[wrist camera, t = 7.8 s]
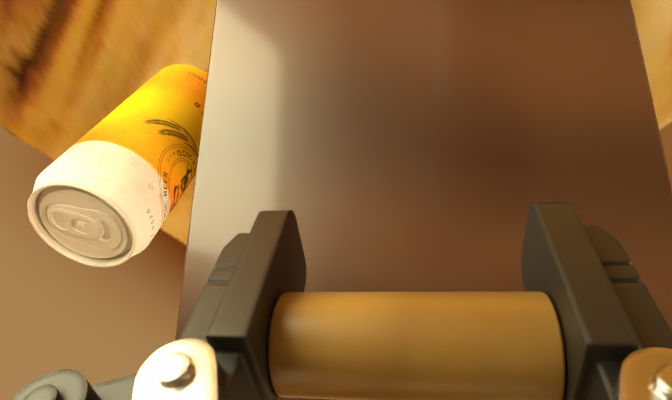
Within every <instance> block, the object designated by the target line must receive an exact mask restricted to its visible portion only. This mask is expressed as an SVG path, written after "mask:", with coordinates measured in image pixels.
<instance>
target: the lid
mask: <svg viewBox="0 0 672 400" xmlns="http://www.w3.org/2000/svg"><path fill="white" fill-rule="evenodd" d="M537 202H570V203H571V204H572V205H573V207H574V209H575V211H576V213H577V215H578V217H579V219H580V221H581V223H582V225H583V226H587V225H599V226H601V227H602V228H603V229H604V230H606V231H607V232H608V233H609V234H611V235H612V236H613V237H615V238H616V239H617V240H618V241H620V243H621V244H622V246H623V248H624V249H625V251H626V253H627V255H628V256H629V258H630V260H631V262H632V263H631V264H632V266H634V267H635V268H636V270H637V272H638V274H639V275H640V277H641V282H642V283H644V284H645V286H646V287H647V289H648V291H649V293H650V294H651V296H652V298H653V300H654V301H655V303H656V305H657V306H658V308H659V310H660V312H661V313H662V315H663V317H664V319H665V320H666V322H667V324H668V325H669V327H670V329H671V331H672V187H671V183H670V178H669V174H668V169H667V164H666V160H665V156H664V151H663V146H662V141H661V137H660V132H659V128H658V123H657V119H656V114H655V109H654V105H653V100H652V96H651V91H650V86H649V82H648V77H647V73H646V68H645V64H644V59H643V54H642V50H641V45H640V41H639V36H638V31H637V27H636V22H635V18H634V13H633V9H632V4H631V0H217V4H216V12H215V20H214V28H213V36H212V45H211V53H210V61H209V69H208V77H207V85H206V94H205V102H204V110H203V118H202V126H201V134H200V143H199V151H198V159H197V167H196V175H195V183H194V192H193V200H192V208H191V216H190V224H189V232H188V241H187V249H186V257H185V265H184V273H183V282H182V290H181V299H180V306H179V314H178V322H177V330H176V339H175V341H177V340H178V339H179V338H180V336H181V334H182V332H183V330H184V328H185V325H186V323H187V321H188V319H189V317H190V315H191V313H192V311H193V309H194V307H195V305H196V303H197V301H198V299H199V297H200V295H201V292H202V290H203V288H204V286H205V284H207V283H208V278H209V276H210V274H211V272H212V270H213V269H215V264H216V262H217V260H218V257H219V255H220V253H221V251H222V249H223V248H224V247H225V246H226V245H227V244H228V243H229V242H230V241H231V240H232V239H233V238H234V237H235V236H236V235H237V234H238V233H250V231H251V229H252V226H253V224H254V222H255V219H256V217H257V215H258V213H259V212H260V211H275V210H293V212H294V213H295V216H296V220H297V224H298V229H299V233H300V238H301V242H302V247H303V251H304V255H305V260H306V284H305V289H304V292H285V293H283V294H282V295H281V296H280V297H279V298H278V300H277V302H276V304H275V307H274V310H273V314H272V318H271V322H270V328H269V337H268V368H269V376H270V381H271V385H272V388H273V390H274V392H275V393H276V394H277V395H278V400H563V398H564V394H565V387H566V358H565V348H564V341H563V335H562V330H561V326H560V322H559V318H558V315H557V312H556V310H555V307H554V305H553V303H552V301H551V299H550V297H549V296H548V295H547V294H546V293H544V292H541V291H525V289H524V286H523V281H522V273H521V256H522V248H523V241H524V233H525V226H526V218H527V211H528V207H529V204H530V203H537Z"/></svg>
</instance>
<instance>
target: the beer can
mask: <svg viewBox="0 0 672 400" xmlns="http://www.w3.org/2000/svg"><path fill="white" fill-rule="evenodd" d="M207 77H208V73H207V72H205V71H203V70H202V69H199V68H197V67H194V66H191V65H186V64H175V65H170V66H167V67H165V68H163V69H162V70H160V71H159V72H158V73H157V74H155V75H154V76H153V77H152V78H151V79H150V80H148V81H147V82H146V83H145V84H144V85H143V86H141V87H140V88H139V89H138V90H137V91H136V92H134V93H133V94H132V95H131V96H130V97H129V98H127V99H126V100H125V101H124V102H123V103H122V104H120V105H119V106H118V107H117V108H116V109H115V110H113V111H112V112H111V113H110V114H109V115H108V116H107V117H105V118H104V119H103V120H102V121H101V122H100V123H98V124H97V125H96V126H95V127H94V128H93V129H91V130H90V131H89V132H88V133H87V134H86V135H84V136H83V137H82V138H81V139H80V140H79V141H77V142H76V143H75V144H74V145H73V146H72V147H70V148H69V149H68V150H67V151H66V152H65V153H63V154H62V155H61V156H60V157H59V158H58V159H56V160H55V161H54V162H53V163H52V164H51V165H49V166H48V167H47V168H46V169H45V170H44V171H43V172H42V173H41V174H40V175H39V176H38V177H37V179H36V181H35V185H34V189H33V193H32V194H31V196H30V197H29V200H28V203H27V212H28V217H29V220H30V222H31V224H32V226H33V228H34V229H35V231H36V232H37V233H38V235H39V236H40V237H41V238H42V239H43V240H44V241H45V242H46V243H47V244H48V245H49V246H51V247H52V248H53V249H54V250H56V251H57V252H59V253H60V254H62V255H64V256H65V257H68V258H70V259H72V260H74V261H76V262H79V263H82V264H86V265H89V266H96V267H112V266H116V265H119V264H122V263H124V262H125V261H127V260H128V259H129V258H130V257H132V256H134V255H136V254H138V253H140V252H142V251H143V250H144V249H145V248H146V247H147V246H148V245H149V243H150V242H151V240H152V239H153V237H154V236H155V234H156V233H157V231H158V230H159V228H160V227H161V225H162V224H163V222H164V221H165V219H166V218H167V216H168V215H169V213H170V212H171V210H172V209H173V207H174V206H175V204H176V203H177V201H178V200H179V198H180V197H181V195H182V194H183V192H184V191H185V189H186V188H187V186H188V185H189V183H190V182H191V180H192V179H193V177H194V176H195V174H196V167H197V159H198V151H199V143H200V134H201V126H202V118H203V110H204V102H205V94H206V85H207Z"/></svg>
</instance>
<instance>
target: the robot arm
mask: <svg viewBox="0 0 672 400" xmlns="http://www.w3.org/2000/svg"><path fill="white" fill-rule="evenodd" d="M631 263H632V262H631V260H630V258H629V256H628V255H627V253H626V251H625V249H624V248H623V246H622V244H621V243H620V241H618V240H617V239H616V238H615V237H613V236H612V235H611V234H609V233H608V232H607V231H606V230H604V229H603V228H602V227H601V226H599V225H587V226H583V225H582V223H581V221H580V219H579V217H578V215H577V213H576V211H575V209H574V207H573V205H572V204H571V203H570V202H537V203H530V204H529V207H528V211H527V218H526V226H525V233H524V241H523V248H522V256H521V273H522V281H523V286H524V289H525V291H541V292H544V293H546V294H547V295H548V296H549V297H550V299H551V301H552V303H553V305H554V307H555V310H556V312H557V315H558V318H559V322H560V326H561V330H562V335H563V341H564V348H565V358H566V387H565V394H564V398H563V400H672V331H671V329H670V327H669V325H668V324H667V322H666V320H665V319H664V317H663V315H662V313H661V312H660V310H659V308H658V306H657V305H656V303H655V301H654V300H653V298H652V296H651V294H650V293H649V291H648V289H647V287H646V286H645V284H644V283H642V282H641V277H640V275H639V274H638V272H637V270H636V268H635V267H634V266H632V264H631ZM305 284H306V260H305V255H304V251H303V247H302V242H301V238H300V233H299V229H298V224H297V220H296V216H295V213H294V212H293V210H275V211H260V212H259V213H258V215H257V217H256V219H255V222H254V224H253V226H252V229H251V231H250V233H238V234H237V235H236V236H235V237H234V238H233V239H232V240H231V241H230V242H229V243H228V244H227V245H226V246H225V247H224V248H223V249H222V251H221V253H220V255H219V257H218V260H217V262H216V264H215V269H213V270H212V272H211V274H210V276H209V278H208V283H207V284H205V286H204V288H203V290H202V292H201V295H200V297H199V299H198V301H197V303H196V305H195V307H194V309H193V311H192V313H191V315H190V317H189V319H188V321H187V323H186V325H185V328H184V330H183V332H182V334H181V336H180V338H179V339H178V340H177V341H174V342H171V343H169V344H167V345H165V346H163V347H161V348H160V349H158V350H157V351H156V352H154V353H153V354H152V355H151V356H150V357H149V358H148V359H147V360H146V361H145V362H144V363H143V365H142V366H141V368H140V369H139V371H138V373H136V374H133V375H129V376H125V377H122V378H119V379H114V380H111V381H107V382H103V383H99V384H96V385H92V386H91V385H90V384H89V382H88V381H87V380H86V378H85V377H84V376H83V375H82V374H81V373H80V372H78V371H75V370H58V371H54V372H51V373H48V374H46V375H43V376H41V377H40V378H37V379H36V380H34V381H32V382H31V383H29V384H28V385H27V386H25V387H24V388H23V389H22V390H21V391H19V392H18V393H17V394H16V395H15V396H14V397H13V398H12V399H11V400H278V395H277V394H276V393H275V392H274V390H273V388H272V385H271V381H270V376H269V368H268V337H269V328H270V322H271V318H272V314H273V310H274V307H275V304H276V302H277V300H278V298H279V297H280V296H281V295H282V294H283V293H285V292H304V289H305Z"/></svg>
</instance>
